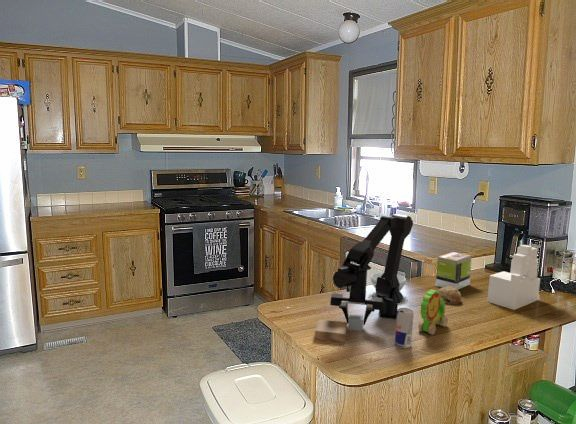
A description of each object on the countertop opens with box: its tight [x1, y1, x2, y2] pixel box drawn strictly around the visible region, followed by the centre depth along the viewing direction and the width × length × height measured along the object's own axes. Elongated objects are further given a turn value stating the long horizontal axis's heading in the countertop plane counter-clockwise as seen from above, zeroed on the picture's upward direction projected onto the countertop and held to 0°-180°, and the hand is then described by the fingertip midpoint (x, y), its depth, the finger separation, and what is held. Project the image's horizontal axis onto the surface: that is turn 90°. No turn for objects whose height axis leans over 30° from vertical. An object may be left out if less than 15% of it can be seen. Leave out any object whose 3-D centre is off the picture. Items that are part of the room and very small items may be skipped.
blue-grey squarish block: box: [347, 313, 364, 331], centre depth 164 cm, size 5×5×4 cm
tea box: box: [435, 251, 472, 291], centre depth 216 cm, size 15×10×15 cm, turn 133°
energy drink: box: [394, 307, 415, 349], centre depth 150 cm, size 5×5×12 cm
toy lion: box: [417, 289, 449, 336], centre depth 163 cm, size 16×5×15 cm, turn 137°
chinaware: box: [370, 272, 407, 292], centre depth 201 cm, size 15×15×8 cm
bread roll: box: [437, 286, 462, 305], centre depth 196 cm, size 10×10×8 cm
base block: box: [314, 319, 348, 343], centre depth 157 cm, size 10×10×3 cm
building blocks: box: [486, 244, 541, 311], centre depth 196 cm, size 21×12×25 cm, turn 128°
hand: (355, 324), depth 164 cm, fingers open, 5 cm apart
